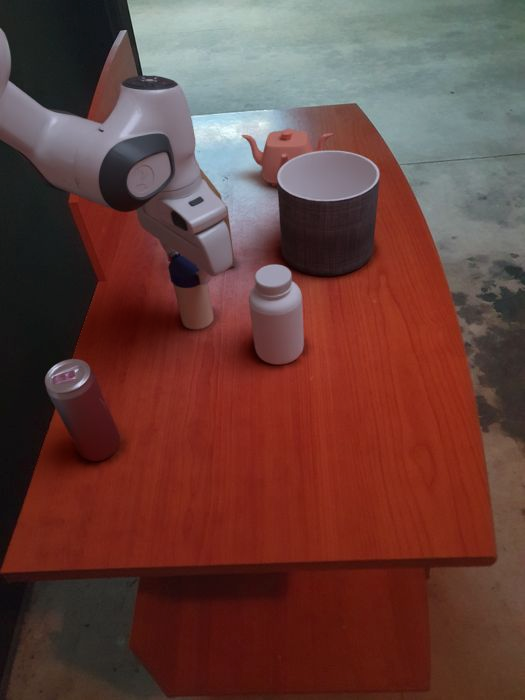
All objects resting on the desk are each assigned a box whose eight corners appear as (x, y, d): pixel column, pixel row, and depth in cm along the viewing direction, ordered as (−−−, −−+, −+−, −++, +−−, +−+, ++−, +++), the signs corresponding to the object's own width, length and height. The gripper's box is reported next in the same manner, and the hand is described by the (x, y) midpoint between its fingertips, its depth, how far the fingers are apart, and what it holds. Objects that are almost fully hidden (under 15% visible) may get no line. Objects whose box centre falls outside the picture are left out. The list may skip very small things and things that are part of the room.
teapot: (333, 177, 130) (334, 130, 122) (285, 201, 124) (283, 153, 116) (291, 156, 138) (289, 111, 130) (244, 178, 132) (240, 132, 125)
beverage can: (76, 436, 83) (40, 366, 72) (117, 423, 84) (87, 352, 73) (82, 469, 79) (45, 399, 68) (125, 454, 80) (95, 384, 69)
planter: (287, 222, 118) (283, 150, 107) (374, 224, 115) (380, 150, 104) (275, 275, 106) (270, 200, 95) (372, 279, 103) (379, 202, 92)
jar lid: (172, 291, 90) (170, 279, 88) (169, 269, 94) (166, 257, 93) (209, 284, 91) (207, 272, 89) (204, 262, 95) (202, 251, 93)
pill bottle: (248, 338, 94) (239, 265, 84) (294, 326, 96) (291, 253, 85) (263, 371, 89) (255, 298, 78) (311, 358, 90) (310, 284, 80)
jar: (183, 332, 97) (171, 281, 89) (180, 311, 101) (168, 260, 93) (216, 326, 97) (207, 274, 89) (211, 305, 101) (202, 254, 93)
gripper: (116, 178, 86) (138, 253, 96) (197, 230, 75) (212, 309, 85) (151, 163, 89) (168, 237, 99) (234, 210, 77) (244, 289, 87)
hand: (189, 271), depth 92 cm, fingers open, 6 cm apart
